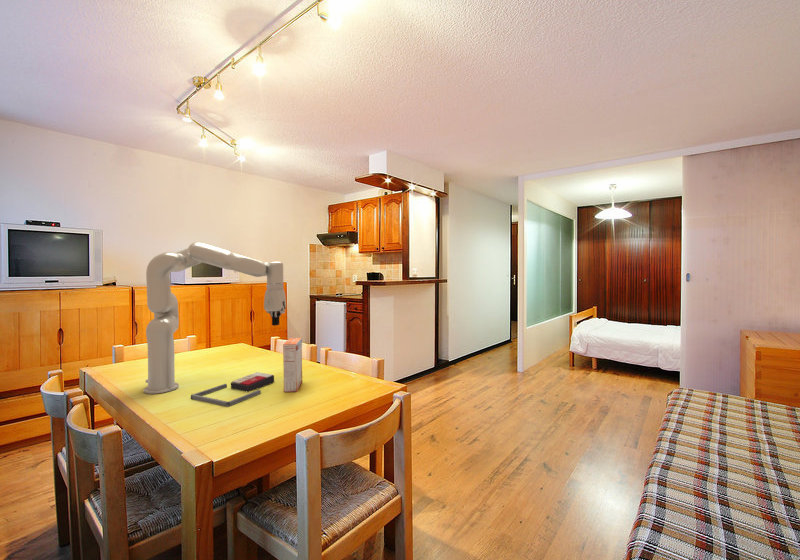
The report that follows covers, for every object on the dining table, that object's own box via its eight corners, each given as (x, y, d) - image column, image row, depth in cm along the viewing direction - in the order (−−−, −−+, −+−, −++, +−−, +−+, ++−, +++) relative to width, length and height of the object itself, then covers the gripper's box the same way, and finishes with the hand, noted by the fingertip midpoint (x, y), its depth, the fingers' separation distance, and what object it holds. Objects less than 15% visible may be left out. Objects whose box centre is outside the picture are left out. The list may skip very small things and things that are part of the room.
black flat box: (230, 381, 152) (257, 370, 165) (230, 390, 152) (257, 379, 166) (248, 384, 147) (274, 373, 161) (248, 394, 147) (274, 382, 161)
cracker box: (289, 382, 161) (289, 337, 160) (302, 382, 161) (302, 337, 161) (282, 392, 147) (282, 343, 146) (297, 392, 147) (297, 343, 147)
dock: (190, 398, 139) (190, 395, 139) (225, 387, 154) (225, 383, 154) (227, 406, 130) (227, 403, 130) (260, 393, 145) (260, 390, 145)
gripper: (257, 287, 166) (258, 325, 167) (281, 287, 160) (282, 327, 160) (269, 286, 173) (269, 323, 173) (292, 287, 167) (293, 324, 167)
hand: (275, 325), depth 167 cm, fingers closed
